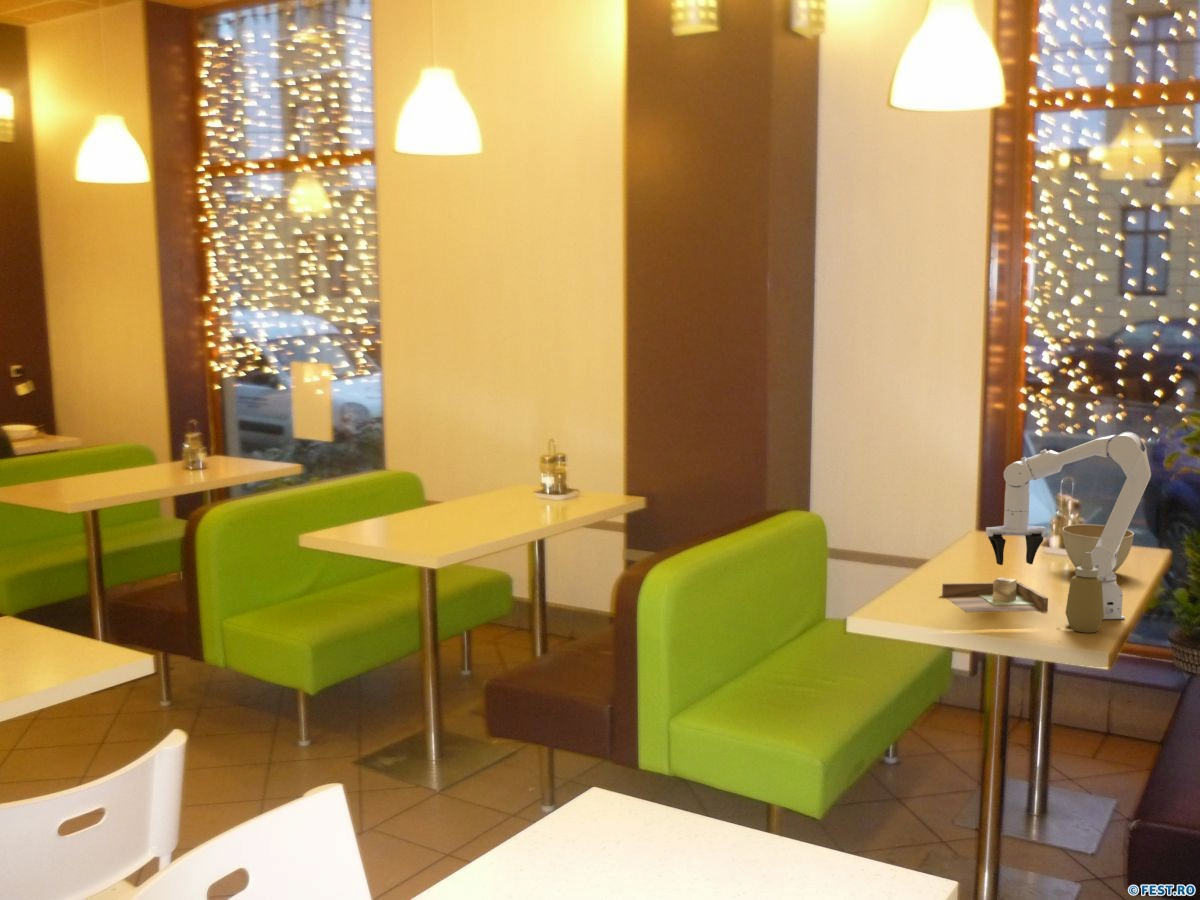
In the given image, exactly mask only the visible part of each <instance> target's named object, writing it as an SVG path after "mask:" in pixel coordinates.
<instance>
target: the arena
mask: <svg viewBox="0 0 1200 900" xmlns="http://www.w3.org/2000/svg"><path fill="white" fill-rule="evenodd" d="M941 589H942V590H941V591H942V592H941V595H942V597H943V598H945V599H947V600H948V601H949V602H951V603H953V604H954V605H956V606H957V607H958V608H959V609H961V610H963V612H965V613H989V612H993V613H995V612H997V613H998V612H1000V613H1001V612H1040V611H1041V612H1043V611H1048V607H1049V606H1048V605H1049V598H1048V597H1047V596H1045V595H1044V594H1042V593H1040V592H1038V591H1035V589H1032V588H1030V587H1029V586H1027V585H1025V584H1023V582H1018V581H1017V585H1016V599H1015V600H1013V601H1011V602H1009V603H1007V602H1002V601H996V600H993V582H960V583H959V582H958V583H956V582H955V583H942V588H941Z"/></svg>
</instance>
